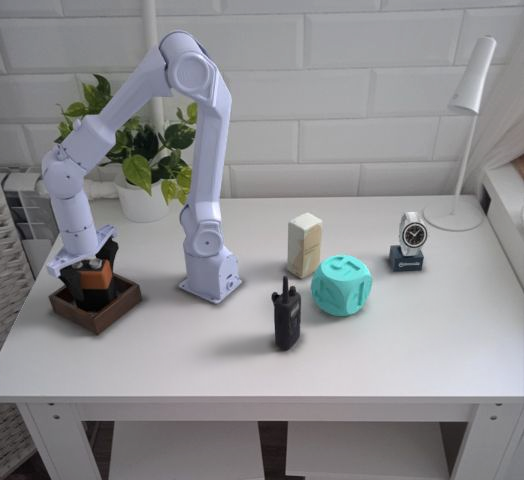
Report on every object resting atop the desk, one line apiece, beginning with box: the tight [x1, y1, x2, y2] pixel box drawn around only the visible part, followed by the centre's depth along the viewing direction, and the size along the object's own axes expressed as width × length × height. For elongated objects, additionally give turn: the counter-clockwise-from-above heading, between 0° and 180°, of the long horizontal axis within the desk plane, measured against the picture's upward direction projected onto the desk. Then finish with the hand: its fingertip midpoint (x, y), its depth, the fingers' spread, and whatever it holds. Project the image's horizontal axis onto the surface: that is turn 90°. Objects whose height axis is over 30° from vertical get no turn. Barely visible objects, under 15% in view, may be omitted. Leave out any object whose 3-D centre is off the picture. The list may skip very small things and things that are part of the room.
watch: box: [388, 211, 430, 273], centre depth 118 cm, size 6×8×11 cm
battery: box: [71, 257, 119, 313], centre depth 112 cm, size 4×7×10 cm, turn 86°
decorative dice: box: [310, 254, 373, 317], centre depth 111 cm, size 8×8×8 cm
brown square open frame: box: [47, 272, 144, 336], centre depth 114 cm, size 12×12×4 cm
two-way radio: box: [270, 275, 302, 351], centre depth 102 cm, size 6×4×15 cm
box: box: [286, 211, 323, 279], centre depth 118 cm, size 5×4×11 cm
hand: (93, 287), depth 112 cm, fingers closed on battery, 6 cm apart
